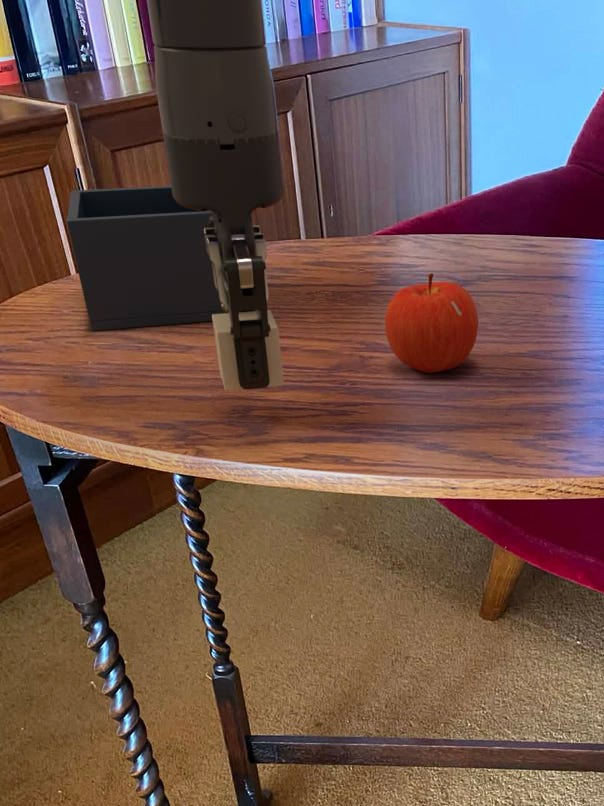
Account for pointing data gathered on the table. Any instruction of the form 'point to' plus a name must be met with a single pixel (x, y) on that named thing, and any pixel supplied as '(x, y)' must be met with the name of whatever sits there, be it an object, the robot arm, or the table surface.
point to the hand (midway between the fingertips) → (250, 374)
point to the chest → (141, 258)
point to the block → (228, 351)
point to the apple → (432, 325)
